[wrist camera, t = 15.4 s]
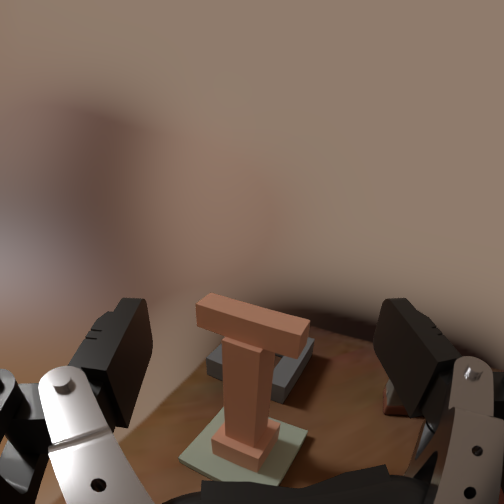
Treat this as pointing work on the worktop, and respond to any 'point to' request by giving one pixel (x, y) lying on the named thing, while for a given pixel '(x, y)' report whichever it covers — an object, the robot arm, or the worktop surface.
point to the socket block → (282, 374)
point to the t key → (249, 373)
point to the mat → (223, 470)
